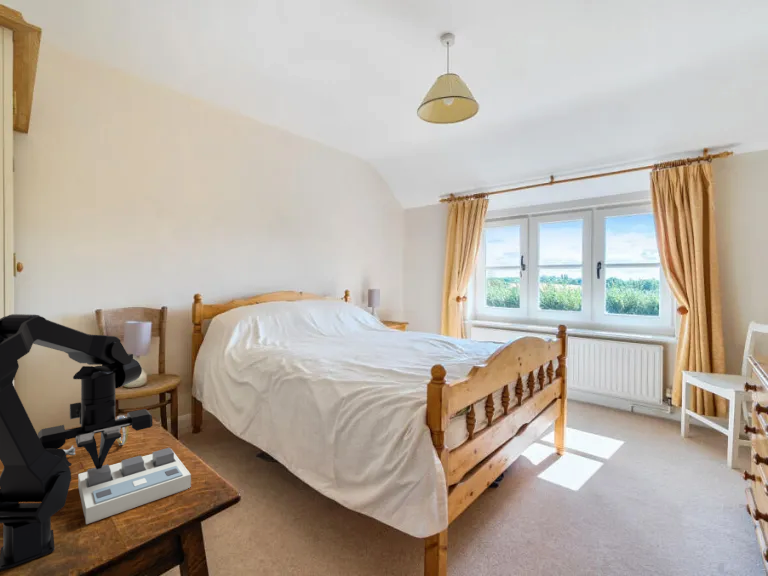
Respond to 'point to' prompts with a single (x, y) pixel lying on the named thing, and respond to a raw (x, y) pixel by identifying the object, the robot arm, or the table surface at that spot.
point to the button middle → (132, 466)
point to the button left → (98, 475)
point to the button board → (131, 488)
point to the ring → (125, 435)
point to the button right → (163, 457)
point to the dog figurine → (70, 451)
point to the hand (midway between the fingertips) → (98, 468)
